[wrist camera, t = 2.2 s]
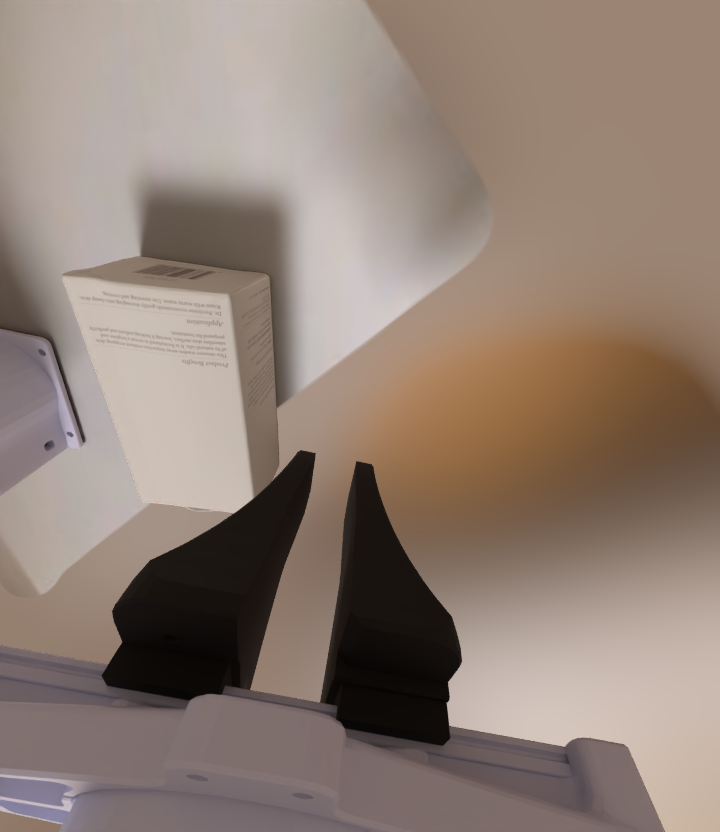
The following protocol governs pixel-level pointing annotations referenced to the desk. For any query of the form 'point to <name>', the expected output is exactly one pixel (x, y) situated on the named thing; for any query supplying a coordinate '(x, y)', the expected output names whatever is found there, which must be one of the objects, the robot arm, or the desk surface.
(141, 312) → the skincare box
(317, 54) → the desk surface
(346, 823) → the robot arm
